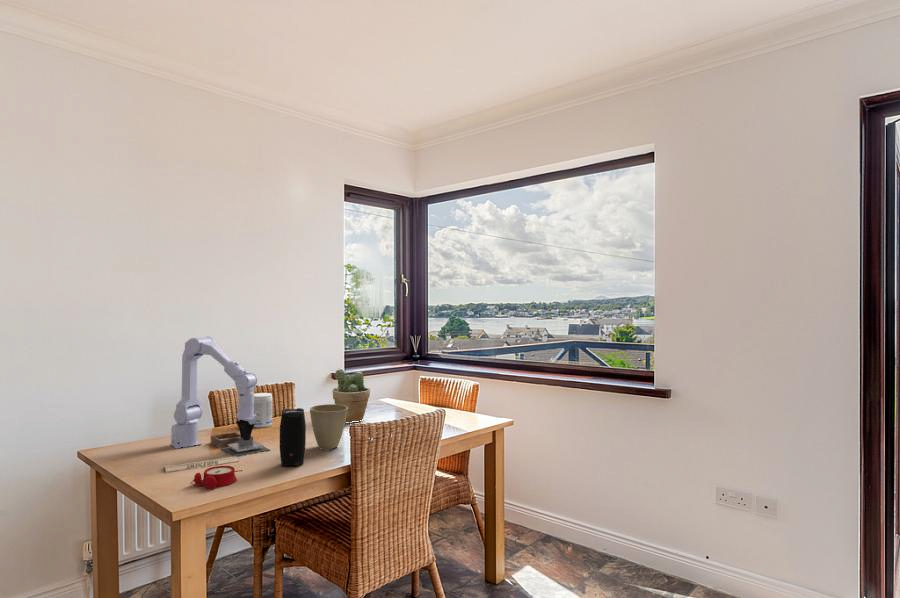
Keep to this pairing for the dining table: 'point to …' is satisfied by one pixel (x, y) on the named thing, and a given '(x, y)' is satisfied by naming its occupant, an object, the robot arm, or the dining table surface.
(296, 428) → the portable speaker
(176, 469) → the newspaper
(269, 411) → the supplement tub
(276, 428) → the dining table surface
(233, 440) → the walnut box
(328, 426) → the plant pot
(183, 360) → the robot arm
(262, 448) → the dark gray board
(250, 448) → the lid
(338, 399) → the potted plant
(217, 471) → the alarm clock
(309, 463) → the dining table surface
